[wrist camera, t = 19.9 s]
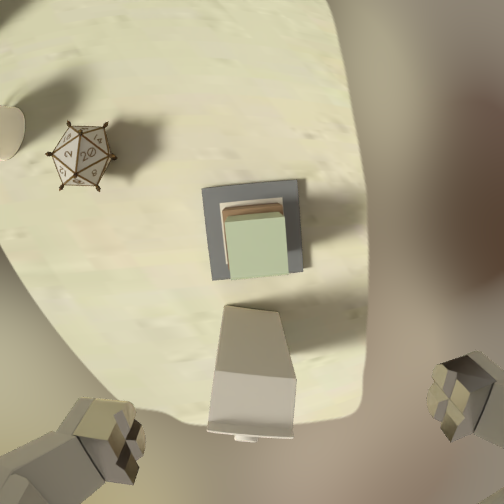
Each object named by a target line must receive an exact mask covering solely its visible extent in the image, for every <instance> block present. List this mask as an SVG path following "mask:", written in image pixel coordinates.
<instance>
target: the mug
mask: <svg viewBox="0 0 504 504" xmlns="http://www.w3.org/2000/svg"><path fill="white" fill-rule="evenodd" d="M24 133H25V118H24V115H23V113H22V111H21V110H20V109H19V108H17V107H7V106H2V105H0V161H5V160H8V159H10V158H11V157H13V156H14V155H15V153H16V152H17V151H18V149H19V147H20V146H21V143H22V141H23V138H24Z"/></svg>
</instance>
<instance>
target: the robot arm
mask: <svg viewBox="0 0 504 504" xmlns="http://www.w3.org/2000/svg"><path fill="white" fill-rule="evenodd" d="M432 378H433V380H434V383H433V384H432V386H431V387H430V388H429V389H428V394H427V407H428V410H429V413H430V415H431V416H432V417H433V419H436V420H438V421H441V427H440V428H441V430H442V431H443V433H444V434H445V435H446V437H447V438H448V440H449V441H450V442H453V441H456V440H458V439H460V438H463V437H465V436H467V435H470V434H472V433H474V435H476V436H478V437H480V438H482V439H484V440H486V441H489V442H491V443H493V444H495V445H497V446H499V447H501V448H503V449H504V370H503V369H501V368H500V367H499V366H498V365H497V364H495V363H494V362H493V361H492V360H490V359H489V358H488V357H487V356H486V355H484V354H483V353H482V352H480V351H473V352H471V353H468V354H466V355H463V356H462V357H459V358H455V359H452V360H449V361H446V362H443V363H440V364H437V365H436V366H435V368H434V370H433V373H432ZM136 413H137V412H136V410H135V407H134V405H133V403H131V402H129V401H120V400H108V399H101V398H100V399H99V398H90V397H81V398H78V400H77V401H76V403H75V404H74V406H73V407H72V408H71V410H70V412H69V413H68V414H67V416H66V417H65V419H64V420H63V422H62V423H61V425H60V426H59V428H58V429H57V431H56V432H53V431H51V432H49V433H47V434H45V435H43V436H41V437H39V438H37V439H35V440H33V441H31V442H29V443H27V444H25V445H23V446H21V447H19V448H17V449H15V450H13V451H11V452H8V453H6V454H4V455H2V456H0V504H81V503H82V502H83V501H84V500H86V499H87V498H88V497H89V496H90V495H92V494H93V493H94V492H95V491H96V490H97V489H99V488H100V487H101V486H102V485H103V484H104V483H105V481H108V482H114V483H121V484H129V485H134V482H135V479H136V476H137V473H138V470H139V466H138V464H137V462H136V461H137V460H138V459H139V458H141V457H142V456H143V454H144V451H145V443H146V438H145V433H144V429H143V427H142V425H141V424H140V423H139V422H138V421H137V420H135V419H134V418H135V416H136ZM477 504H504V487H503V488H501V489H500V490H498V491H497V492H496V493H494V494H492V495H490V496H489V497H487V498H486V499H484V500H482V501H481V502H479V503H477Z"/></svg>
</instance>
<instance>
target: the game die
mask: <svg viewBox="0 0 504 504" xmlns="http://www.w3.org/2000/svg"><path fill="white" fill-rule="evenodd" d="M108 122H109V121H108ZM108 122H106V123H105V124H104V125H103V127H95V126H71V123H70V122H69V121H68V120H67V126H68V127H69V128H68V129H67V131H66V132H65V134H64V135H63V137H62V138H61V140H60V141H59V143H58V144H57V146H56V147H55V149H54V151H53V152H52V153H51V152H47V153H46V154H45V155H47V156H49V157H50V156H52V158H53V161H54V163H55V166H56V169H57V171H58V174H59V176H60V179H61V181H62V185H60V187H59V191H60V190H62V189H63V188H64V185H76V186H96V189H97V191H99V192H100V189H101V188H100V186H98V184H99V182H100V180H101V178H102V176H103V174H104V172H105V170H106V168H107V167H108V165H109V163H110V161H111V159H112V160H116V159H117V157H116V156H115V155H114V154H113V153H112V154H111V151H110V147H109V143H108V140H107V136H106V132H105V128H106V127H107V126H108Z"/></svg>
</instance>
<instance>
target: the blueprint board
mask: <svg viewBox="0 0 504 504" xmlns="http://www.w3.org/2000/svg"><path fill="white" fill-rule="evenodd" d="M202 197H203V207H204V216H205V225H206V233H207V242H208V250H209V258H210V266H211V273H212V281H213V280H224V279H231V276H230V270H228V262H227V253H226V244H225V235H224V225H223V216H222V210H223V209H224V208H225V207H233V206H243V205H253V204H264V203H276V202H277V203H279V204H281V205H283V216H284V217H285V228H286V242H287V256H288V271H289V273H296V272H303V258H302V240H301V225H300V211H299V198H298V185H297V180H287V181H274V182H262V183H251V184H240V185H230V186H221V187H212V188H203V189H202Z"/></svg>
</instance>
